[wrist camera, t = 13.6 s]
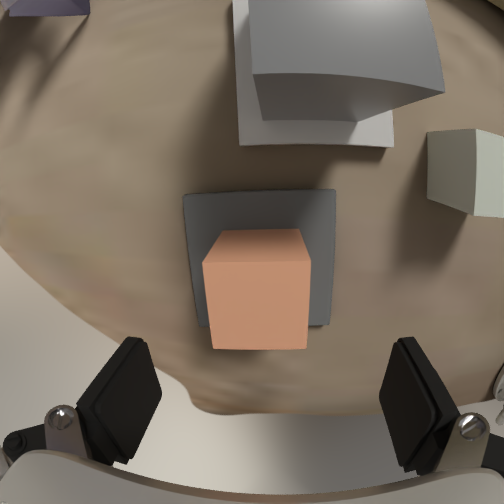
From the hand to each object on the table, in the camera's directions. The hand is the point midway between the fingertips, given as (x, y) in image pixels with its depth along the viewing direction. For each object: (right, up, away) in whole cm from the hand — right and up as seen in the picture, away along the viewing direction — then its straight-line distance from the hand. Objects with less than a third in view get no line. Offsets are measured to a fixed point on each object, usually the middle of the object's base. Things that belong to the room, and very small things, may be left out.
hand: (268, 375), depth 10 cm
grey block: (+15, +11, +7) cm, 20 cm away
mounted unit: (+3, +17, +6) cm, 18 cm away
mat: (0, +4, +10) cm, 11 cm away
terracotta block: (0, +4, +10) cm, 10 cm away
